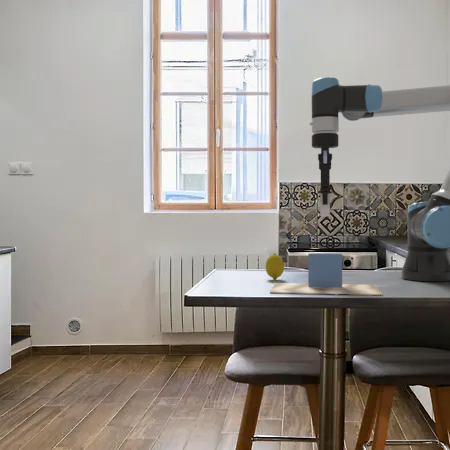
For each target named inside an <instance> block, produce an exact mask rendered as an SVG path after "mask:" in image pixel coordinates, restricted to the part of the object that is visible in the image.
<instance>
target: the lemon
mask: <svg viewBox="0 0 450 450" xmlns="http://www.w3.org/2000/svg"><path fill="white" fill-rule="evenodd" d="M284 270H285V263H284V260H283V258H282V257H281V256H280V255H278V254H277V253H273V254H271V255H270V256H269V257H267V260H266V262H265V272H266V274H267V276H269V277H270V278H272V280H277V279H278V278H279V277H282V275H283V273H284Z"/></svg>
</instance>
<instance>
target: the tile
mask: <svg viewBox="0 0 450 450" xmlns="http://www.w3.org/2000/svg"><path fill="white" fill-rule="evenodd" d="M307 257H308V259H307V261H308V263H307V265H308V266H307V267H308V271H307V274H308V276H307V277H308V283H307V284H308V287H342V284H343V253H330V252H329V253H323V252H321V253H319V252H317V253H315V252H314V253H312V252H310V253H309V252H308V256H307Z"/></svg>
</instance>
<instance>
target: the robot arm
mask: <svg viewBox="0 0 450 450" xmlns="http://www.w3.org/2000/svg"><path fill="white" fill-rule="evenodd" d="M436 112H437V113H440V112H450V84H449V85H437V86H428V87H418V88H416V87H415V88H405V89H404V88H403V89H393V90H385V91H383V89H382V87H381V86H380V85H378V84H377V85H376V84H362V85H361V84H360V85H359V84H357V85H342V84H340V83H339V79H338V78H337V77H329V76H327V77H325V76H324V77H318V78H316V79H314V80H313V82H312V84H311V121H312V122H309V126H310V127H311V132H312V135H311V147H312V148H314V149H320V153H318V154H317V161H318V169H319V170H320V188H319V190H318V191H317V193H318V194H320V195H319V205H320V206H319V217H331V194H332V193H333V191H331V185H330V181H331V180H330V179H331V178H330V177H331V176H330V175H331V174H330V172H331V169H332V159H333V153H330V149H335V148H338V147H339V134H338V132H339V130H340V128H339V126H340V125H339V113H341V115H342V116H343V118H345V119H346V120H347V121H350V122H355V121H358V120H361V119H371V118H377V117H391V116H404V115H415V114H417V115H418V114H427V113H428V114H429V113H436ZM441 184H442V185H441V186H440V189H439V190H438V191H435V192H433V193H432V194H431V195H430V198H429V200H428V201H420V202H414V203H411V204H410V205H409V206H408V207H407V208H408V209H407V215H406V216H407V255H406V257H405V260H404V263H403V266H402V269H401V279H403V280H409V281H418V282H449V281H450V257H449V256H450V255H449V248H450V167H449V169H448V170H447V173H446V175H445V178H444V180H443V182H442V183H441Z"/></svg>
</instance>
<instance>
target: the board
mask: <svg viewBox="0 0 450 450" xmlns="http://www.w3.org/2000/svg"><path fill="white" fill-rule="evenodd" d="M269 294H270V295H271V294H276V295H278V294H279V295H280V294H282V295H320V294H335V295H336V296H339V295H338V294H348V295H347V296H372V295H377V296H378V295H379V296H380V295H381V297H382V296H384V294H383V292H382V291H381V290H380V289H379V287H378V286H377V284H359V283H358V284H353V283H352V284H351V283H350V284H349V283H348V284H347V283H342V287H308V283H301V282H300V283H299V282H298V283H297V282H294V283H293V282H292V283H289V282H288V283H287V282H275V283H274V285H273V286H272V288H271V290H270V292H269ZM349 294H350V295H349ZM335 295H334V296H335ZM377 296H376V297H377ZM379 296H378V297H379Z"/></svg>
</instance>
